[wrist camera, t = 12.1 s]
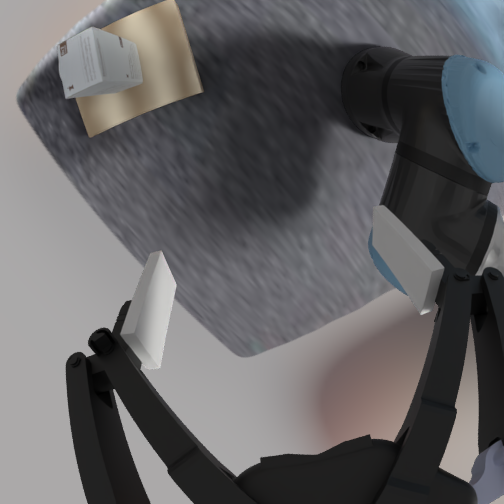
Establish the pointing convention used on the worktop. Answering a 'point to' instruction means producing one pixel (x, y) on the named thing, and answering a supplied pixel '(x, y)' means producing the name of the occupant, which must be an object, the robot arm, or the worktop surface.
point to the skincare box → (98, 64)
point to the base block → (147, 68)
